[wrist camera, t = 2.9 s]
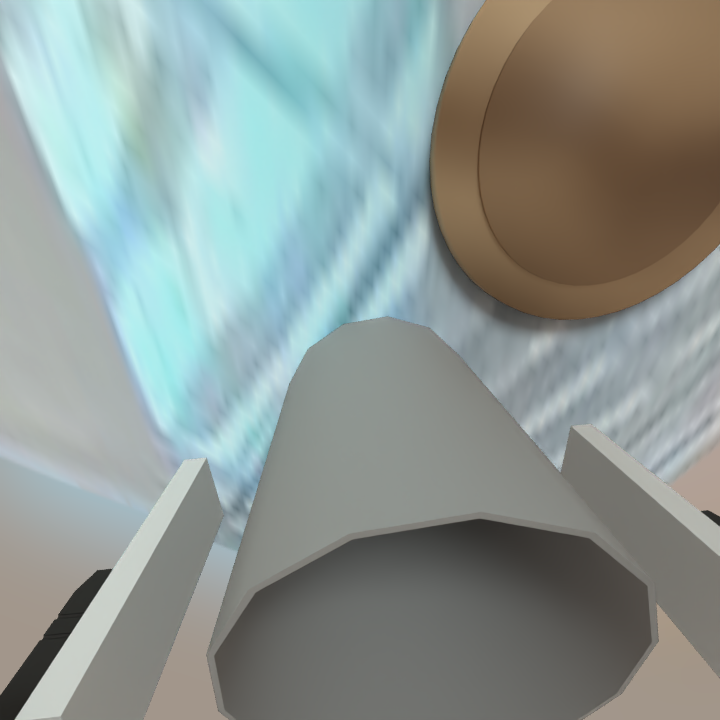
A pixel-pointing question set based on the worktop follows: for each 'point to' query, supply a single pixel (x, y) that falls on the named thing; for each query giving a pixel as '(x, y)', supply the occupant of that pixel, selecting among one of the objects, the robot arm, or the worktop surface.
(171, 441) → the worktop surface
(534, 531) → the cup
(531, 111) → the plate
